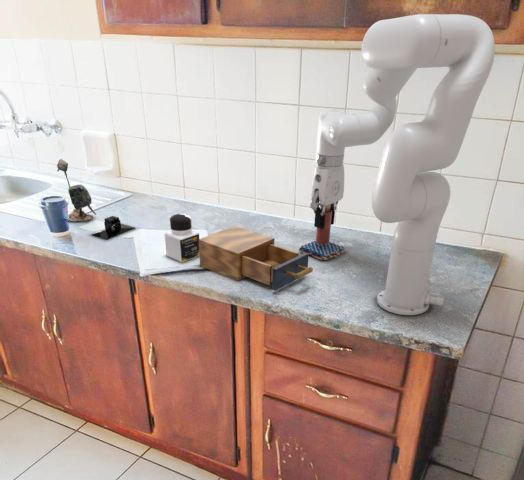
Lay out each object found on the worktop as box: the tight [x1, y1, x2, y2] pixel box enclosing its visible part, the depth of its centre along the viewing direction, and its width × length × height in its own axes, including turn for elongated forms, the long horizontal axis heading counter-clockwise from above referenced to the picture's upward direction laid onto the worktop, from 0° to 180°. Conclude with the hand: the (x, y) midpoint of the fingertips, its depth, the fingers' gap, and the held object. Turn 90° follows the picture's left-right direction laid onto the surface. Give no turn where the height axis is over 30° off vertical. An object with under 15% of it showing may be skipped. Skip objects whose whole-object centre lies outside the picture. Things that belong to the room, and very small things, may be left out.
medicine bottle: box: [164, 213, 200, 263], centre depth 147 cm, size 7×7×12 cm
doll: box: [315, 204, 332, 244], centre depth 149 cm, size 4×4×12 cm
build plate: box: [91, 215, 136, 241], centre depth 165 cm, size 12×7×5 cm, turn 147°
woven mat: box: [298, 240, 346, 261], centre depth 154 cm, size 10×11×2 cm
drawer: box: [240, 243, 314, 292], centre depth 136 cm, size 18×14×6 cm
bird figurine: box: [56, 158, 97, 222], centre depth 170 cm, size 8×11×20 cm
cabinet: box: [198, 225, 275, 282], centre depth 144 cm, size 15×15×8 cm
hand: (324, 224), depth 150 cm, fingers closed on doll, 4 cm apart
